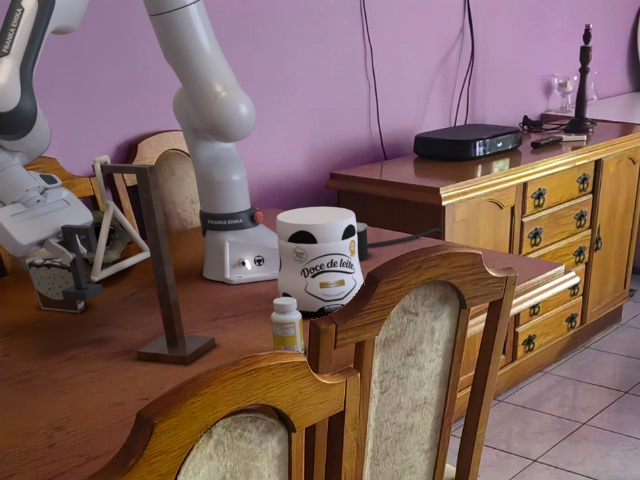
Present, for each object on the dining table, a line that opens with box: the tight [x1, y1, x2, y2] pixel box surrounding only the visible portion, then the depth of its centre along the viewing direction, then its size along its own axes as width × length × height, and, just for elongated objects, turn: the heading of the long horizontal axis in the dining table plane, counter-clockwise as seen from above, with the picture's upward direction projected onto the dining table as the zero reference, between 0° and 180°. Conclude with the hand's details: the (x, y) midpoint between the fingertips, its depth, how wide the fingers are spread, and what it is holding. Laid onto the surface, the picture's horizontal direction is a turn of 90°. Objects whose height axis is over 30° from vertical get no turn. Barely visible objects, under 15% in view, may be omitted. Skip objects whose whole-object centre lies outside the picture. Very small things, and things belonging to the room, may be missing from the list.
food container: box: [24, 254, 85, 314], centre depth 172 cm, size 12×6×10 cm, turn 71°
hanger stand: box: [91, 154, 217, 366], centre depth 143 cm, size 14×17×32 cm
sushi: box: [356, 221, 369, 262], centre depth 201 cm, size 8×8×8 cm
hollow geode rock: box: [57, 209, 134, 284], centre depth 193 cm, size 28×13×15 cm
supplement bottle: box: [270, 297, 305, 354], centre depth 147 cm, size 5×5×10 cm
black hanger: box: [61, 224, 104, 302], centre depth 148 cm, size 7×5×12 cm
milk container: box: [275, 206, 365, 316], centre depth 166 cm, size 17×17×18 cm
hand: (77, 258), depth 147 cm, fingers closed on black hanger
